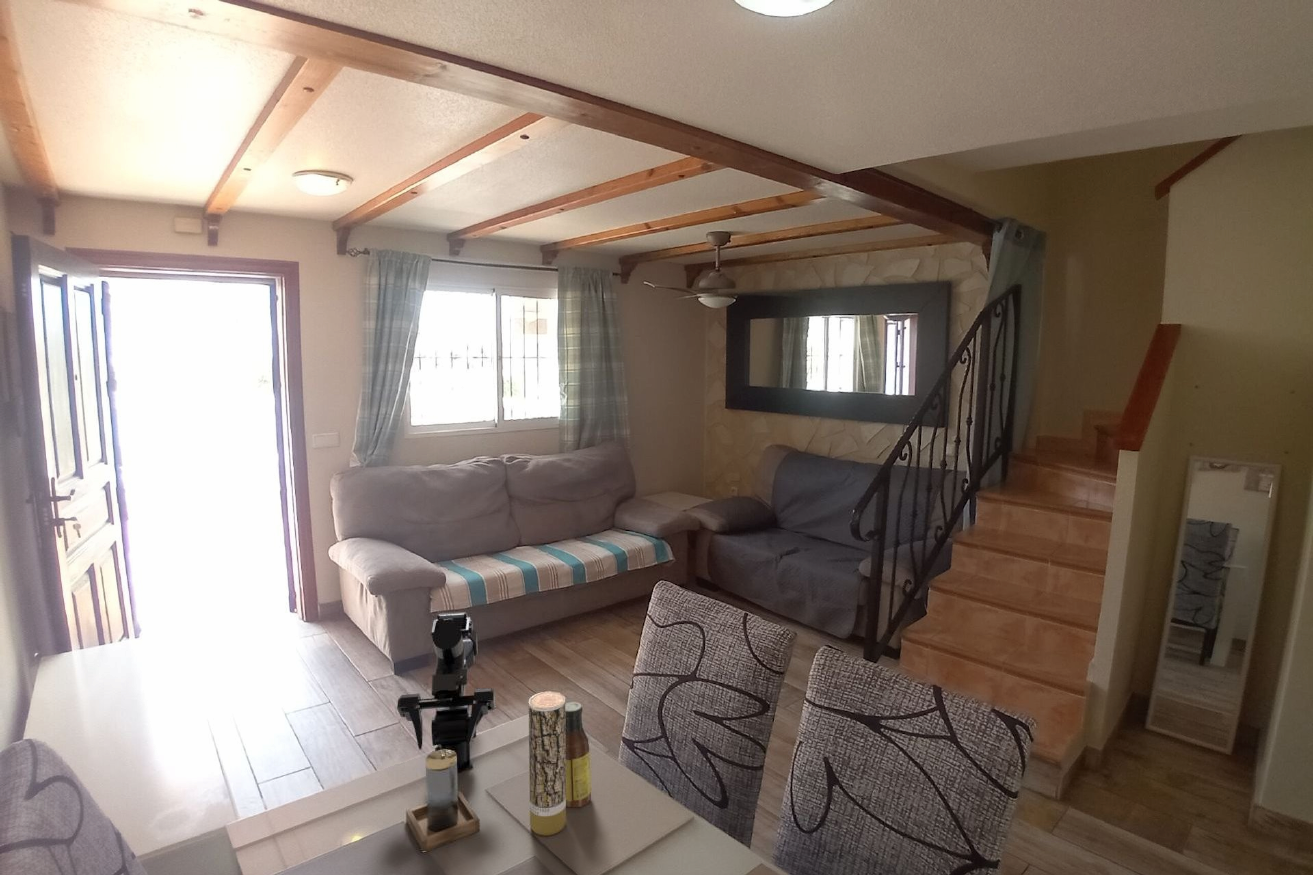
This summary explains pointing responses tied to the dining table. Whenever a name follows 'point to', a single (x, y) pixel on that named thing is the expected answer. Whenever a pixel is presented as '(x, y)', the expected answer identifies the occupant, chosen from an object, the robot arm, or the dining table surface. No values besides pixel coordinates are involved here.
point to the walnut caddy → (431, 840)
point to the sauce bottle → (576, 758)
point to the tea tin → (441, 790)
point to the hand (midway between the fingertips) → (444, 746)
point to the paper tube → (547, 762)
